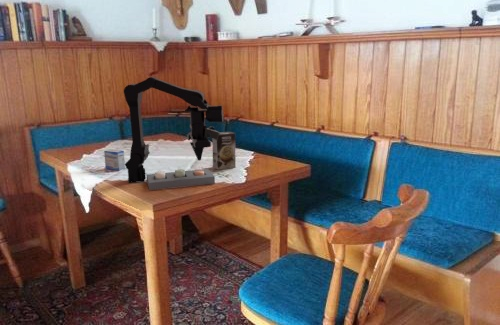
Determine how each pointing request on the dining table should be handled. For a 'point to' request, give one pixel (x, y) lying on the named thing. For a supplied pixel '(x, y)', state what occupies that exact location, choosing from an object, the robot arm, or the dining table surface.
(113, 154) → the medicine box
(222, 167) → the coffee box
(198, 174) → the orange rounded piece
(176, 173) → the sage button
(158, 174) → the cream button
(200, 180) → the button panel
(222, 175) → the dining table surface
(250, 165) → the dining table surface
